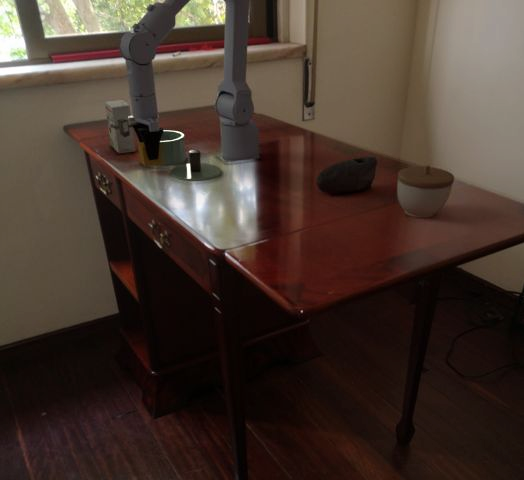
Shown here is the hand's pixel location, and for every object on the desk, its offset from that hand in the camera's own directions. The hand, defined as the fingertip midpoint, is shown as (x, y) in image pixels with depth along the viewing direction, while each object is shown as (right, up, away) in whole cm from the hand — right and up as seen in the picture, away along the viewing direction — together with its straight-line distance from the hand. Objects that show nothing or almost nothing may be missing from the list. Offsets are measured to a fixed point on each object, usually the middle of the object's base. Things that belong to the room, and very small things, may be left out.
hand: (150, 156), depth 126 cm
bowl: (+1, +3, +11) cm, 11 cm away
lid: (+11, -3, +2) cm, 11 cm away
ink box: (-12, +9, +21) cm, 26 cm away
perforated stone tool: (+46, -11, -7) cm, 47 cm away
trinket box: (+59, -18, -17) cm, 64 cm away
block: (0, -1, +1) cm, 1 cm away
